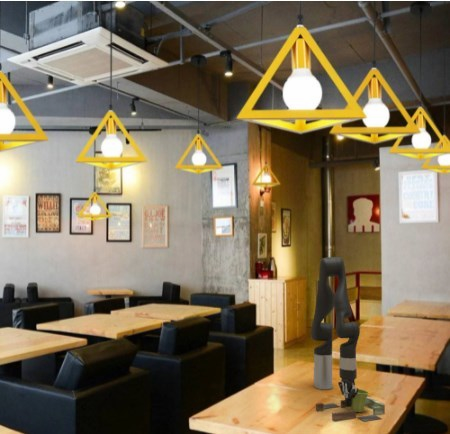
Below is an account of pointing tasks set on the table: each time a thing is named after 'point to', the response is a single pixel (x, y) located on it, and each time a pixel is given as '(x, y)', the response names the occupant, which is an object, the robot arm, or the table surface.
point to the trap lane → (371, 403)
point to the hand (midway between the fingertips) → (348, 406)
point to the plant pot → (359, 401)
